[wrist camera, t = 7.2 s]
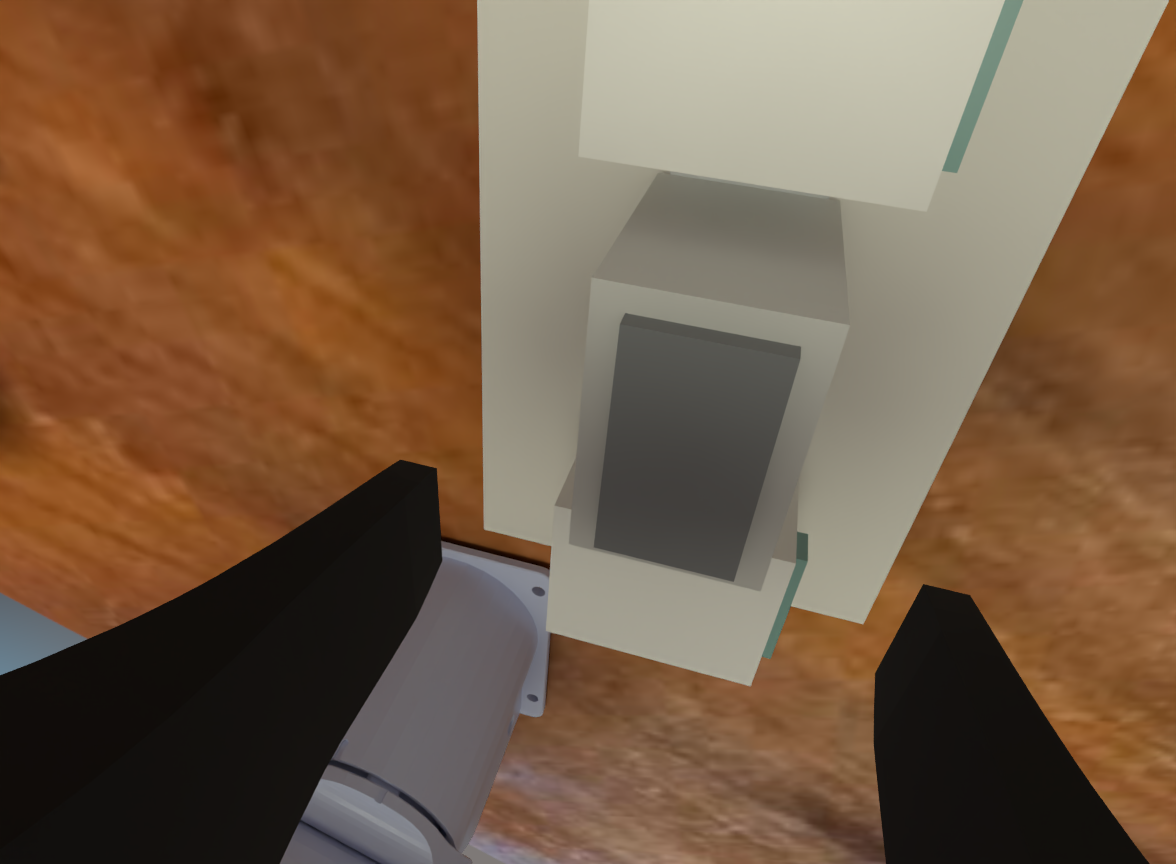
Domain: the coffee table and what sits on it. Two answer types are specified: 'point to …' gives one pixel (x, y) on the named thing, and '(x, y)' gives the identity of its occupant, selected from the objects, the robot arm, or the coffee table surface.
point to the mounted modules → (774, 159)
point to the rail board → (872, 260)
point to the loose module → (706, 375)
